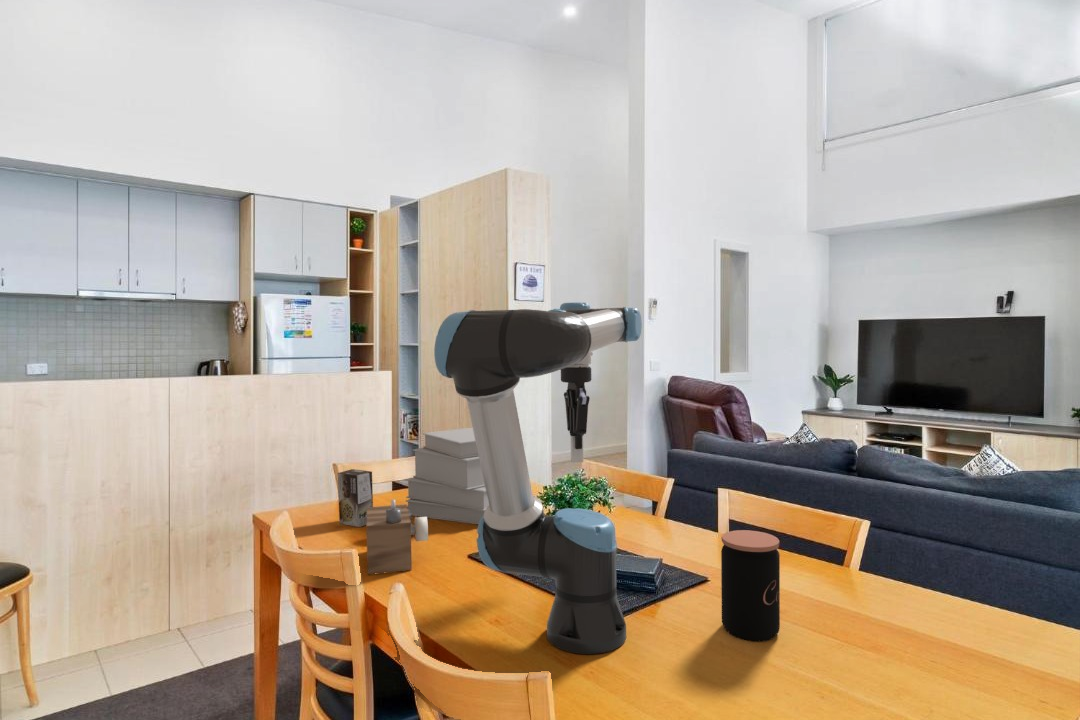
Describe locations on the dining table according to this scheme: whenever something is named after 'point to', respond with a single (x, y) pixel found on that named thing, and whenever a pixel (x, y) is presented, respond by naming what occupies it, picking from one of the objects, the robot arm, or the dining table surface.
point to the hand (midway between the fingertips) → (577, 461)
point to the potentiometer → (393, 514)
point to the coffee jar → (750, 585)
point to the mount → (388, 541)
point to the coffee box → (354, 496)
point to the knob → (420, 529)
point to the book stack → (448, 478)
